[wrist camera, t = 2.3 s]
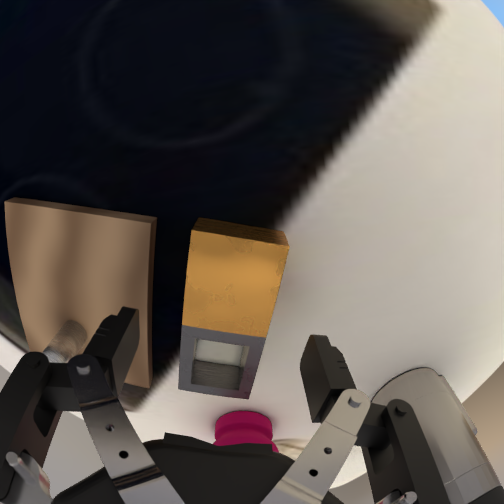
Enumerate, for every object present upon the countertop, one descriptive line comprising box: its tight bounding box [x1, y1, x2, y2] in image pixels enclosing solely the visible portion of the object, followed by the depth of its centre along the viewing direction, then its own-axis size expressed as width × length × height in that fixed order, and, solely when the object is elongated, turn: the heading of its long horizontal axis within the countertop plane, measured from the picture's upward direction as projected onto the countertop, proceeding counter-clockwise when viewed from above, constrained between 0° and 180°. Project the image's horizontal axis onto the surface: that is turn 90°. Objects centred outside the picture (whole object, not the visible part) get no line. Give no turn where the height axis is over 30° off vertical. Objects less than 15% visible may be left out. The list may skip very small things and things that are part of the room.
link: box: [178, 217, 290, 399], centre depth 22 cm, size 6×14×3 cm, turn 169°
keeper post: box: [42, 320, 88, 363], centre depth 19 cm, size 2×2×8 cm
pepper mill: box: [213, 411, 279, 453], centre depth 20 cm, size 7×7×20 cm
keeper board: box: [5, 197, 157, 388], centre depth 22 cm, size 14×16×2 cm
